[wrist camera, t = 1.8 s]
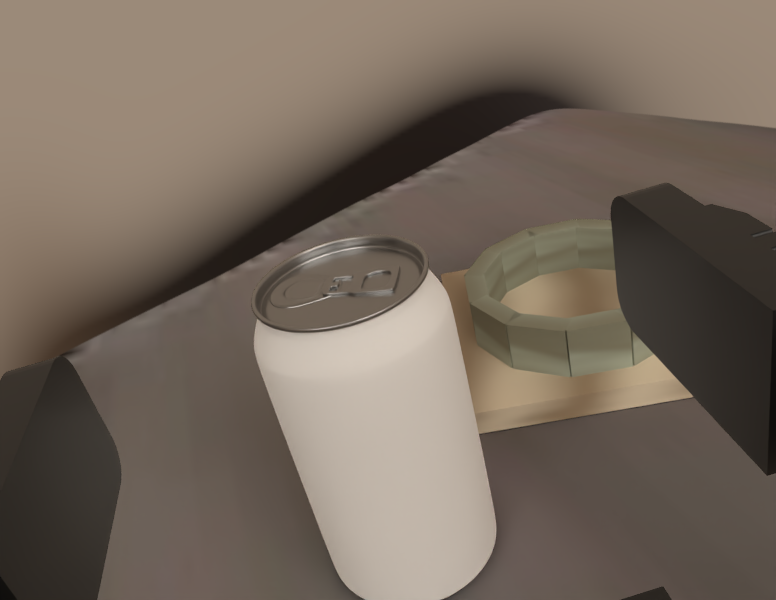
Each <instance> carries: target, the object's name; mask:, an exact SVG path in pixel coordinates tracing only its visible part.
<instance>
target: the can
mask: <svg viewBox="0 0 776 600" xmlns="http://www.w3.org/2000/svg"><path fill="white" fill-rule="evenodd" d="M251 307H252V311H253V313H254V315H255V316H256V317H257V322H256V328H255V335H254V351H255V355H256V359H257V362H258V365H259V368H260V371H261V374H262V377H263V380H264V383H265V385H266V388H267V391H268V393H269V396H270V399H271V402H272V404H273V407H274V410H275V412H276V415H277V418H278V420H279V423H280V426H281V428H282V431H283V434H284V436H285V439H286V442H287V444H288V447H289V449H290V452H291V455H292V457H293V460H294V463H295V465H296V468H297V471H298V473H299V476H300V479H301V481H302V484H303V486H304V489H305V492H306V494H307V497H308V500H309V502H310V505H311V507H312V510H313V513H314V515H315V518H316V520H317V523H318V526H319V528H320V531H321V533H322V536H323V539H324V541H325V544H326V546H327V549H328V551H329V554H330V556H331V559H332V561H333V564H334V566H335V569H336V571H337V573H338V575H339V576H340V578H341V580H342V581H343V582H344V584H345V585H346V586H347V587H348V588H349V589H350V590H351V591H353V592H354V593H355V594H357V595H358V596H360V597H361V598H363V599H365V600H443V599H445V598H447V597H449V596H451V595H453V594H454V593H456V592H458V591H459V590H460V589H462V588H463V587H464V586H466V585H467V584H468V583H469V582H471V581H472V580H473V579H474V578H475V577H476V576H477V575H478V574H479V572H480V571H481V570H482V569H483V567H484V566H485V564H486V563H487V561H488V559H489V558H490V556H491V553H492V551H493V548H494V545H495V540H496V519H495V513H494V507H493V502H492V497H491V492H490V487H489V482H488V477H487V472H486V467H485V462H484V457H483V452H482V447H481V442H480V437H479V432H478V428H477V423H476V418H475V413H474V408H473V403H472V399H471V394H470V389H469V384H468V379H467V374H466V370H465V365H464V360H463V355H462V351H461V346H460V341H459V337H458V332H457V327H456V323H455V318H454V314H453V310H452V306H451V302H450V299H449V296H448V294H447V292H446V290H445V288H444V287H443V285H442V284H441V283H440V281H439V280H438V279H437V278H436V277H435V275H434V274H433V273H432V272H431V271H430V270H429V261H428V257H427V254H426V253H425V251H424V250H423V249H422V248H421V247H420V246H419V245H418V244H416V243H414V242H412V241H410V240H408V239H405V238H401V237H397V236H391V235H359V236H352V237H346V238H341V239H337V240H333V241H329V242H325V243H322V244H319V245H316V246H314V247H311V248H308V249H306V250H304V251H301V252H299V253H297V254H295V255H293V256H291V257H290V258H288V259H286V260H284V261H283V262H281V263H280V264H278V265H277V266H276V267H274V268H273V269H272V270H270V271H269V272H268V273H267V274H266V275H265V276H264V277H263V278H262V279H261V280H260V282H259V283H258V284H257V286H256V288H255V289H254V291H253V294H252V298H251Z"/></svg>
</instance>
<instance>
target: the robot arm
mask: <svg viewBox="0 0 776 600" xmlns="http://www.w3.org/2000/svg"><path fill="white" fill-rule="evenodd" d="M611 225H612V237H613V248H614V260H615V272H616V284H617V294H618V299H619V303H620V307H621V310H622V312H623V315H624V317H625V319H626V321H627V323H628V325H629V327H630V328H631V330H632V331H633V332H634V333H635V334H636V335H637V336H638V338H639V339H640V340H641V341H642V342H643V343H644V344H645V345H646V346H647V347H648V348H649V349H650V350H651V351H652V353H653V354H654V355H655V356H656V357H657V358H658V359H659V360H660V361H661V362H662V363H663V364H664V365H665V367H666V368H667V369H668V370H669V371H670V372H671V373H672V374H673V375H674V376H675V377H676V378H677V379H678V381H679V382H680V383H681V384H682V385H683V386H684V387H685V388H686V389H687V390H688V391H689V392H690V393H691V394H692V396H693V397H694V398H695V399H696V400H697V401H698V402H699V403H700V404H701V405H702V406H703V407H704V408H705V410H706V411H707V412H708V413H709V414H710V415H711V416H712V417H713V418H714V419H715V420H716V421H717V422H718V423H719V425H720V426H721V427H722V428H723V429H724V430H725V431H726V432H727V433H728V434H729V435H730V436H731V437H732V439H733V440H734V441H735V442H736V443H737V444H738V445H739V446H740V447H741V448H742V449H743V450H744V451H745V452H746V454H747V455H748V456H749V457H750V458H751V459H752V460H753V461H754V462H755V463H756V464H757V465H758V466H759V468H760V469H761V470H762V471H763V472H764V473H765V474H766V475H767V476H768V475H771V474H774V473H776V232H774V233H773V231H772V228H770V227H769V226H767V225H765V224H764V223H762V222H760V221H759V220H757V219H755V218H754V217H752V216H750V215H749V214H747V213H744V212H740V211H736V210H732V209H728V208H724V207H720V206H717V205H713V204H710V205H706V206H704V205H703V204H701V203H700V202H698V201H696V200H695V199H693V198H692V197H690V196H689V195H687V194H686V193H684V192H682V191H681V190H679V189H678V188H676V187H675V186H673V185H671V184H669V183H663V184H659V185H656V186H652V187H649V188H645V189H642V190H638V191H635V192H631V193H628V194H625V195H621V196H618V197H616V198H614V200H613V202H612V205H611ZM120 485H121V465H120V460H119V455H118V452H117V449H116V446H115V443H114V441H113V439H112V437H111V435H110V433H109V431H108V429H107V427H106V426H105V424H104V422H103V420H102V418H101V416H100V414H99V413H98V411H97V409H96V407H95V405H94V403H93V401H92V399H91V398H90V396H89V394H88V392H87V390H86V388H85V386H84V385H83V383H82V381H81V379H80V377H79V375H78V373H77V372H76V370H75V368H74V367H73V365H72V364H71V363H70V362H69V361H68V360H67V359H66V358H64V357H60V356H59V357H56V358H53V359H49V360H46V361H42V362H39V363H35V364H32V365H28V366H25V367H21V368H18V369H15V370H11V371H8V372H6V373H5V374H4V375H3V376H2V378H1V380H0V600H97V598H98V593H99V588H100V583H101V578H102V573H103V568H104V563H105V558H106V553H107V549H108V544H109V539H110V534H111V529H112V524H113V519H114V514H115V509H116V504H117V499H118V494H119V490H120ZM621 600H671V598H670V596H669V595H668V593H667V592H666V590H665V588H664V587H659V588H656V589H653V590H650V591H647V592H644V593H640V594H637V595H634V596H631V597H628V598H625V599H621Z"/></svg>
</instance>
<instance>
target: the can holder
mask: <svg viewBox="0 0 776 600" xmlns="http://www.w3.org/2000/svg"><path fill="white" fill-rule="evenodd" d="M441 278H442V285H443V287H444V288H445V290H446V292H447V294H448V296H449V299H450V302H451V306H452V310H453V314H454V318H455V323H456V327H457V332H458V337H459V341H460V346H461V351H462V355H463V360H464V365H465V370H466V374H467V379H468V384H469V389H470V394H471V399H472V403H473V408H474V413H475V418H476V423H477V428H478V432H479V434H482V433H487V432H493V431H499V430H505V429H511V428H516V427H522V426H528V425H534V424H540V423H546V422H551V421H557V420H563V419H569V418H575V417H581V416H586V415H592V414H598V413H604V412H610V411H616V410H621V409H627V408H633V407H639V406H645V405H651V404H656V403H662V402H668V401H674V400H680V399H685V398H691V397H693V396H692V394H691V393H690V392H689V391H688V390H687V389H686V388H685V387H684V386H683V385H682V384H681V383H680V382H679V381H678V379H677V378H676V377H675V376H674V375H673V374H672V373H671V372H670V371H669V370H668V369H667V368H666V367H665V365H664V364H663V363H662V362H661V361H660V360H659V359H658V358H657V357H656V356H655V355H654V354H653V353H652V351H651V350H650V349H649V348H648V347H647V346H646V345H645V344H644V343H643V342H642V341H641V340H640V339H639V338H638V336H637V335H636V334H635V333H634V332H633V331H632V330H631V328H630V327H629V325H628V323H627V321H626V319H625V317H624V315H623V312H622V310H621V307H620V303H619V299H618V294H617V284H616V272H615V260H614V248H613V237H612V225H611V220H594V219H577V220H576V219H573V220H568V221H563V222H558V223H553V224H548V225H543V226H538V227H533V228H528V229H527V230H526V229H525V230H523V231H521V232H519V233H516V234H514V235H512V236H510V237H508V238H506V239H504V240H502V241H500V242H498V243H496V244H494V245H492V246H490V247H488V248H486V249H485V250H484V251H483V252H482V254H481V255H480V256H479V257H478V259H477V260H476V261H475V262H474V263H473V265H472V266H471V267H470V268H469V269H466V270H461V271H456V272H451V273H446V274H441Z"/></svg>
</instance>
